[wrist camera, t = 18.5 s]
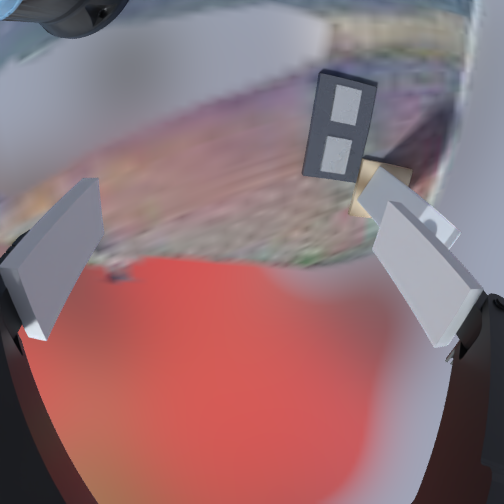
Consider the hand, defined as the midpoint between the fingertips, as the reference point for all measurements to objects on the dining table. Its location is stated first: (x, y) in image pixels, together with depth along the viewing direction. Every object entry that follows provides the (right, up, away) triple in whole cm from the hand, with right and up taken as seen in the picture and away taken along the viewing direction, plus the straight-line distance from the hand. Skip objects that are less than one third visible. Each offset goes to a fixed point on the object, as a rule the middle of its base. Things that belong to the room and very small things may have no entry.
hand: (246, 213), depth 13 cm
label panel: (+13, +17, +29) cm, 36 cm away
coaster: (+22, +9, +35) cm, 43 cm away
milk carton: (+22, +9, +35) cm, 42 cm away
